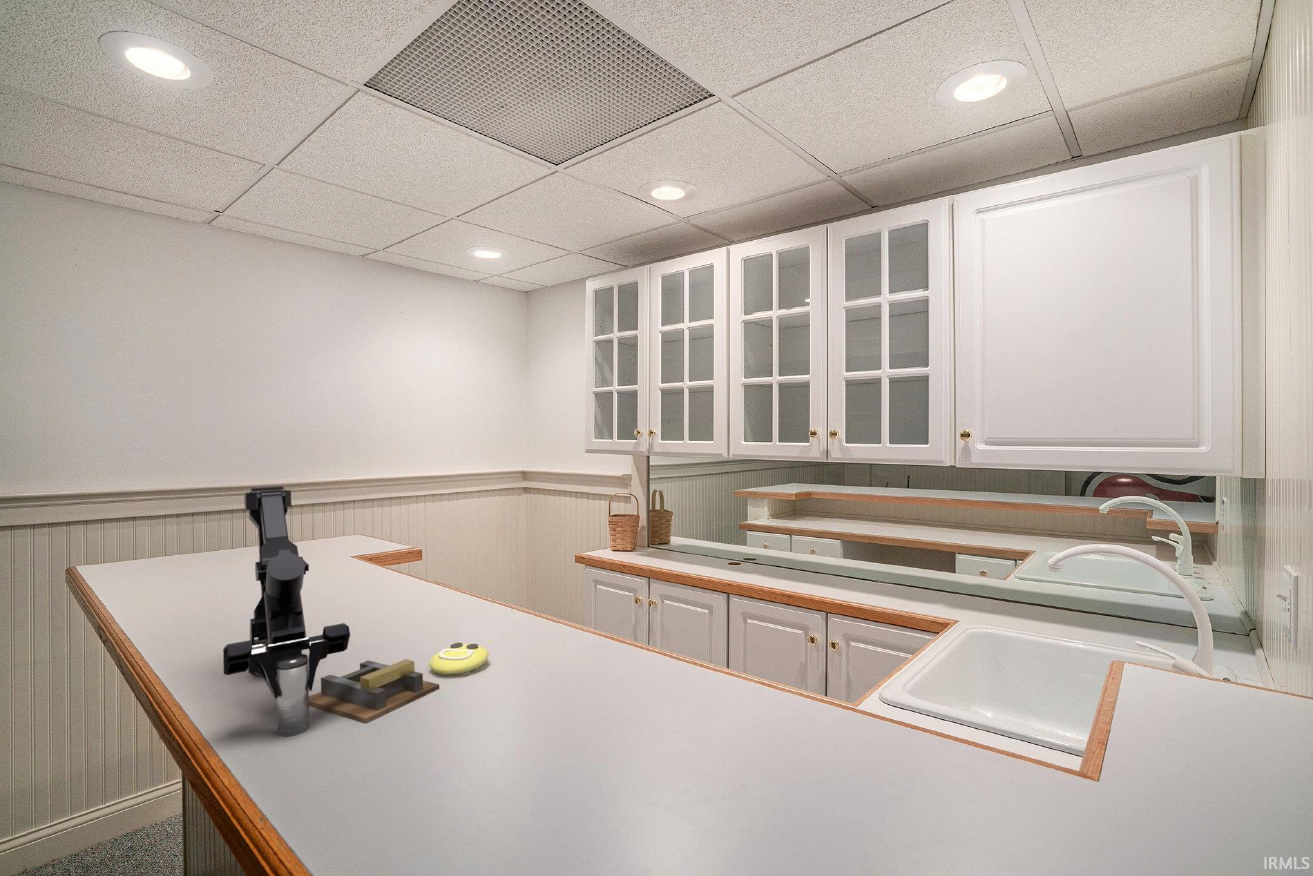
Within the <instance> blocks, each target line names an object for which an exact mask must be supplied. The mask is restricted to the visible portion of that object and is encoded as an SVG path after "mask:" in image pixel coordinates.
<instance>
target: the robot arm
mask: <svg viewBox="0 0 1313 876" xmlns="http://www.w3.org/2000/svg"><path fill="white" fill-rule="evenodd" d="M243 496H244V502H243V503H244V510H245V511H248V519H249V520H250V522H251V523H252V524H253V526H255V528H256V529H257V535H258V536H257V537H258V554H259V555H258V556H259V557H258V561H255V564H254V567H255V569H254V572H255V573H254V574H255V580H256V582H259V583H260V593H261V594H260V595H261V597H260V599H259V601H258V603H257V604H256V606H255V608H254V609H253V618H249V620H250V622H249V640H244V641H243V640H242V641H238V642H233V643H228V644H225V646H224V647H223V649H222V650H223V651H222V654H223V655H222V662H223V663H222V664H223V665H222V666H223V675H224V676H226V675H227V676H230V675H234V674H239V673H245V672H247V671H248V674H251V675H255V676H259V677H261V678H262V680H263V681H264V683H265V684H266V685H267V687H268V689H269V691H270V692H271V694H272V696H273V698H274V699H276V700H277V698H278V687H277V680H276V660H278V659H279V658H282V657H285V656H288V655H293V654H303V651H305V650H308V651H309V653H308V686H309V691H313V687H314V681H315V678H316V677H315V676H316V672H317V670H318V669H317V668H318V667H319V663H320V662H321V660H324V659H326V658H327V657H328V655H333V654H337V653H342V652H345V651H346V650H347V649H348V645H349V642H350V637H351V631H350V626H349V625H347V624H346V623H345V622H343V623H338V624H332V625H327V626H323V628H322V634H320V635H319V634H318V635H313V636H310V637H309V636H307V631H306V625H305V624H306V623H305V622H306V621H305V616H304V610H303V609H304V608H303V602H302V594H301V591H302V589H303V584H304V575H306V574H307V572H309V571H310V568H309V567H310V565H309V563H307V562H306V560H305V559H304V558H303V556H299V550H298V545H296V544H295V543H294V542H292V541H290V539H289V533H288V526H287V518H286V515H287V513H288V508H289V507H292V490H291V489H289V490H287V489H285V488H284V486H283V485H279V486H278V485H277V486H260V487H251V488H250V491H249V492H246V493H244V494H243Z"/></svg>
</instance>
